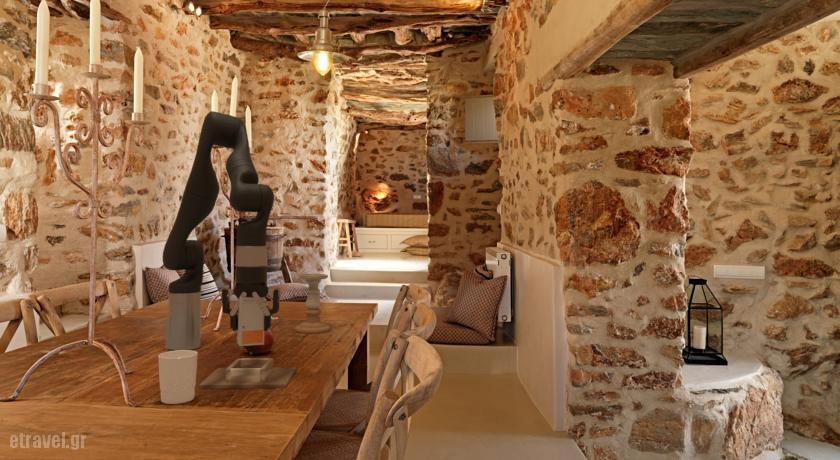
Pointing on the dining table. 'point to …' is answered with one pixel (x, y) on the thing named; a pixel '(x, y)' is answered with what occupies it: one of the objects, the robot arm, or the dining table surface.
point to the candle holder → (313, 306)
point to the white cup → (177, 376)
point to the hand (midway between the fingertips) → (250, 330)
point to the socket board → (249, 375)
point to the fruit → (262, 348)
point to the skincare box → (250, 322)
